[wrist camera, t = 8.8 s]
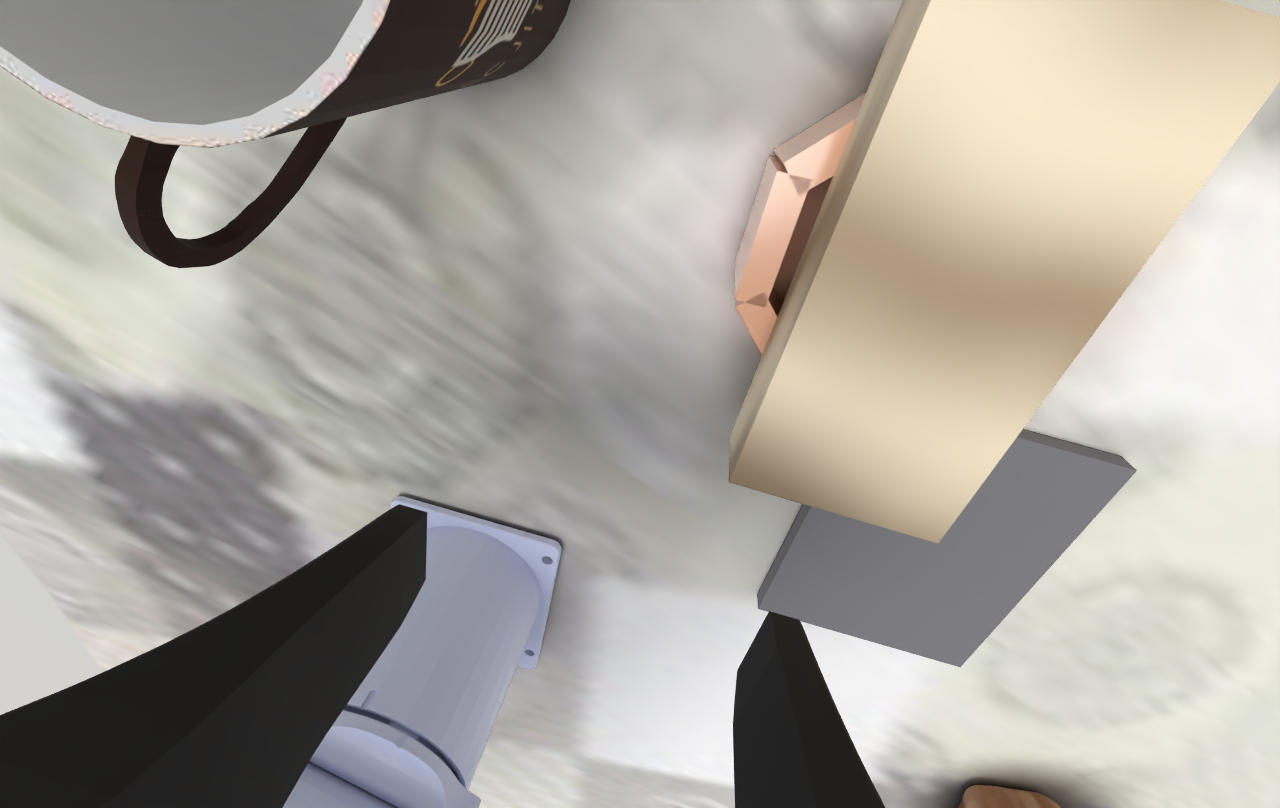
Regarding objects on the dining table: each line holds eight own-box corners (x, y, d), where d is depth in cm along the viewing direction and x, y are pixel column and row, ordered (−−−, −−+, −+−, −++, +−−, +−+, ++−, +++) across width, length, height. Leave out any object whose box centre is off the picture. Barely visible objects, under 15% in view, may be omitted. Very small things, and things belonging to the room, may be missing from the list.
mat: (953, 650, 24) (960, 667, 23) (757, 594, 24) (757, 608, 23) (1121, 456, 18) (1136, 470, 17) (863, 385, 18) (868, 396, 18)
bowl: (942, 392, 18) (989, 460, 15) (713, 329, 18) (707, 381, 15) (1096, 134, 14) (1213, 144, 11) (800, 57, 14) (820, 42, 11)
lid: (913, 489, 15) (938, 543, 14) (730, 436, 16) (728, 482, 14) (1207, 42, 10) (1319, 27, 8) (917, -37, 10) (959, -70, 8)
